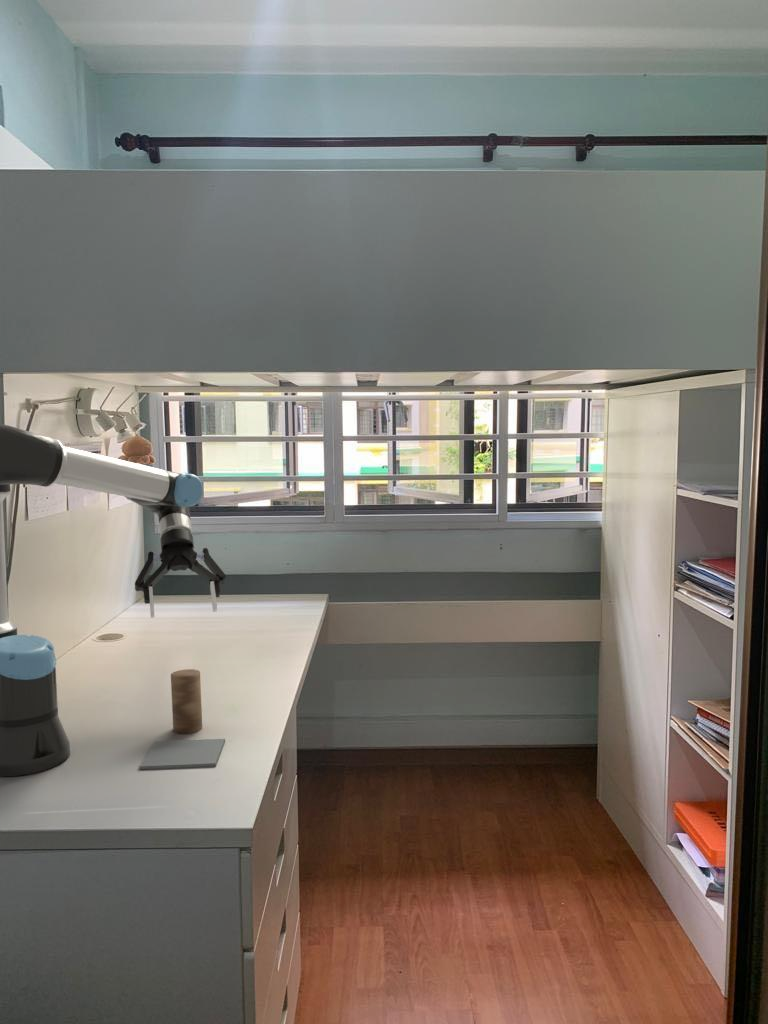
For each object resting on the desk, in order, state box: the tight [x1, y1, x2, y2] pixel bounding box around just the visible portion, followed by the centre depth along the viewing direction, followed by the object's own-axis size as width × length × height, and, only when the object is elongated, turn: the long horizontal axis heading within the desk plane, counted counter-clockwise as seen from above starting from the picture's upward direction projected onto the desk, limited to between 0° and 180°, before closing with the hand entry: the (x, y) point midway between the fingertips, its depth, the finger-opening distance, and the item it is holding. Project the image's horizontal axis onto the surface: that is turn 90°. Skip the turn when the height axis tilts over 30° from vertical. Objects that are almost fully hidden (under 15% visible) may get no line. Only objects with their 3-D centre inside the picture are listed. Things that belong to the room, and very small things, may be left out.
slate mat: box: [139, 738, 226, 770], centre depth 148 cm, size 14×12×1 cm
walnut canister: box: [170, 668, 203, 735], centre depth 161 cm, size 6×6×12 cm
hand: (184, 611), depth 171 cm, fingers open, 13 cm apart
